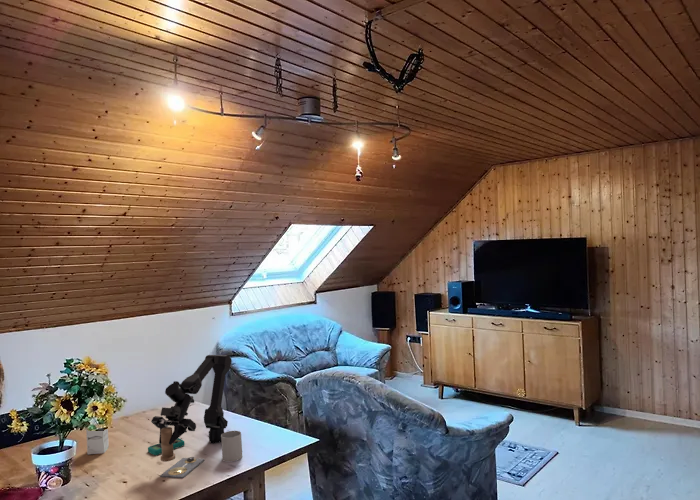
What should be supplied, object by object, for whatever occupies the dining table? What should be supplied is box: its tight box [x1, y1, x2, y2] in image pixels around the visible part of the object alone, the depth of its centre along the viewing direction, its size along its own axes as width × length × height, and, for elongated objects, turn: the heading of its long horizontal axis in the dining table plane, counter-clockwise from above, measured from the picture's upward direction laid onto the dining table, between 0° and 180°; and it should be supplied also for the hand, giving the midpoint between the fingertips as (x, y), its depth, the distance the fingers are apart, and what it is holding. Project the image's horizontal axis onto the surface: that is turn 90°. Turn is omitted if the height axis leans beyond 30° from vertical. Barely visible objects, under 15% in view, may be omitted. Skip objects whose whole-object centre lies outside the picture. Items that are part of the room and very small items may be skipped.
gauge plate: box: [159, 456, 205, 479], centre depth 216 cm, size 17×10×2 cm, turn 167°
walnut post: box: [160, 426, 176, 462], centre depth 214 cm, size 6×6×12 cm
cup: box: [220, 430, 243, 463], centre depth 225 cm, size 8×8×10 cm
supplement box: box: [85, 428, 110, 456], centre depth 240 cm, size 7×7×13 cm
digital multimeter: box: [147, 437, 185, 456], centre depth 239 cm, size 7×15×3 cm, turn 137°
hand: (164, 443), depth 212 cm, fingers closed on walnut post, 4 cm apart
